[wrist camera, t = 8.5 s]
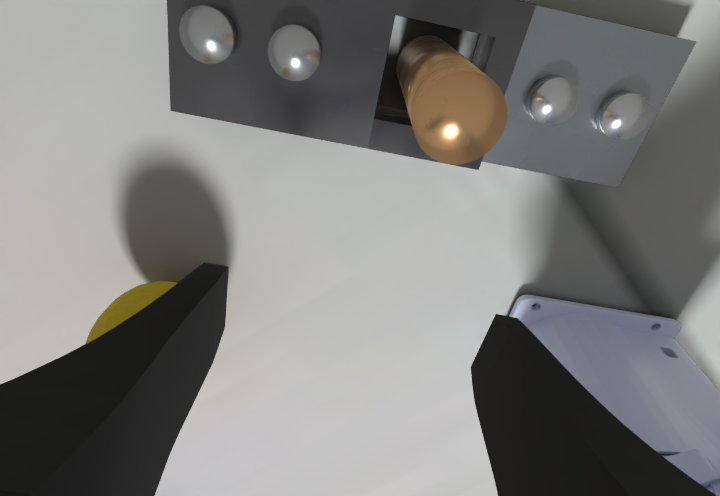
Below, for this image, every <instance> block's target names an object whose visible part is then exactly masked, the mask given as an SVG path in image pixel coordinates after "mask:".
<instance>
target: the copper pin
mask: <svg viewBox="0 0 720 496" xmlns="http://www.w3.org/2000/svg"><path fill="white" fill-rule="evenodd" d="M396 69H397V77H398V80H399V83H400V87H401V90H402V93H403V97H404V100H405V103H406V107H407V110H408V113H409V117H410V120H411V123H412V127H413V130H414V133H415V137H416V139H417V142H418V144H419V145H420V147H421V148H422V150H423V151H424V152H425V153H426V154H427V155H429V156H430V157H431V158H433V159H435V160H437V161H439V162H442V163H446V164H464V163H469V162H472V161H474V160H476V159H478V158H480V157H482V156H483V155H485V154H486V153H487V152H489V151H490V150H491V149H492V148H493V147H494V146H495V144H496V143H497V142H498V140H499V139H500V137H501V135H502V133H503V131H504V128H505V125H506V121H507V104H506V100H505V97H504V94H503V92H502V91H501V89H500V88H499V86H498V85H497V84H496V83H495V82H494V81H493V80H492V79H491V78H489V77H488V76H487V75H486V74H484V73H483V72H482V71H481V70H480V69H478V68H477V67H476V66H475V65H473V64H472V63H471V62H470V61H469V60H467V59H466V58H465V57H464V56H462V55H461V54H460V53H459V52H457V51H456V50H455V49H454V48H453V47H451V46H450V45H449V44H448V43H446V42H445V41H444V40H442V39H441V38H439V37H436V36H432V35H423V36H419V37H417V38H414V39H413V40H411V41H410V42H408V43H407V44H406V45H405V47H404V48H403V49H402V51H401V52H400V55H399V57H398V60H397V67H396Z"/></svg>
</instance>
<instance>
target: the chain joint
mask: <svg viewBox="0 0 720 496" xmlns="http://www.w3.org/2000/svg"><path fill="white" fill-rule="evenodd" d="M167 11H168V42H169V73H170V104H171V111H175V112H180V113H185V114H190V115H196V116H201V117H206V118H211V119H217V120H222V121H227V122H232V123H237V124H243V125H248V126H253V127H258V128H263V129H269V130H274V131H279V132H284V133H289V134H295V135H300V136H305V137H310V138H315V139H321V140H326V141H331V142H336V143H342V144H347V145H352V146H357V147H362V148H368V149H373V150H378V151H383V152H388V153H394V154H399V155H404V156H409V157H414V158H420V159H425V160H430V161H435V162H439V161H437V160H435V159H433V158H431V157H430V156H429V155H427V154H426V153H425V152H424V151H423V150H422V148H421V147H420V145H419V144H418V142H417V139H416V137H415V133H414V130H413V127H412V123H411V120H410V117H409V113H408V111H407V110H402V109H397V108H392V107H387V106H382V105H377V101H378V96H379V91H380V86H381V82H382V77H383V72H384V67H385V62H386V57H387V53H388V48H389V43H390V38H391V33H392V28H393V24H394V19H395V15H398V16H403V17H407V18H412V19H416V20H421V21H426V22H430V23H435V24H439V25H444V26H448V27H453V28H458V29H462V30H467V31H471V32H476V33H480V35H479V38H478V41H477V45H476V48H475V51H474V55H473V58H472V61H471V63H472V64H473V65H475V66H476V67H477V68H478V69H480V70H481V71H482V72H483V73H484V74H486V75H487V76H488V77H489V78H491V79H492V80H493V81H494V82H495V83H496V84H497V85H498V86H499V88H500V89H501V91H502V92H503V94H504V97H505V100H506V104H507V121H506V125H505V128H504V131H503V133H502V135H501V137H500V139H499V140H498V142H497V143H496V144H495V146H494V147H493V148H492V149H491V150H490V151H489V152H487V153H486V154H485V155H483V156H482V157H480V158H478V159H476V160H474V161H472V162H469V163H464V164H451V165H456V166H461V167H466V168H472V169H477V170H479V167H480V164H481V161H483V162H488V163H493V164H498V165H503V166H509V167H514V168H519V169H524V170H529V171H534V172H540V173H545V174H550V175H555V176H560V177H565V178H571V179H576V180H581V181H586V182H591V183H596V184H602V185H607V186H612V187H617V188H618V186H619V185H620V183H621V181H622V179H623V177H624V175H625V173H626V172H627V170H628V168H629V166H630V164H631V162H632V160H633V159H634V157H635V155H636V153H637V151H638V149H639V147H640V146H641V144H642V142H643V140H644V138H645V136H646V134H647V133H648V131H649V129H650V127H651V125H652V123H653V121H654V120H655V118H656V116H657V114H658V112H659V110H660V108H661V107H662V105H663V103H664V101H665V99H666V97H667V95H668V94H669V92H670V90H671V88H672V86H673V84H674V82H675V81H676V79H677V77H678V75H679V73H680V71H681V69H682V68H683V66H684V64H685V62H686V60H687V58H688V56H689V55H690V53H691V51H692V49H693V47H694V45H695V44H696V42H695V41H691V40H687V39H682V38H678V37H673V36H669V35H665V34H660V33H656V32H651V31H647V30H643V29H638V28H634V27H629V26H625V25H621V24H616V23H612V22H607V21H603V20H599V19H594V18H590V17H585V16H581V15H577V14H572V13H568V12H563V11H559V10H555V9H550V8H546V7H541V6H537V5H536V4H532V3H528V2H523V1H519V0H167ZM440 163H442V162H440Z"/></svg>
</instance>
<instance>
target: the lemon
mask: <svg viewBox="0 0 720 496" xmlns="http://www.w3.org/2000/svg"><path fill="white" fill-rule="evenodd" d="M176 284H177V283H176V282H171V281H155V282H151V283H147V284H142V285H139V286H137V287H135V288H133V289H131V290H129V291H127V292H126V293H124V294H122V295H121V296H119V297H118V298H117V299H116V300H115V301H114V302H113V303H112V304H111V305H110V306H109V307H108V308H107V309H106V310H105V311H104V312H103V313H102V314H101V316H100V317H99V318H98V319H97V321H96V322H95V324H94V326H93V328H92V329H91V332H90V334H89V336H88V339H87V341H86V344H87V343H89V342H91V341H92V340H94V339H96V338H98V337H99V336H101V335H103V334H104V333H106V332H108V331H109V330H111V329H113V328H114V327H116V326H117V325H119V324H120V323H122V322H123V321H125V320H126V319H128V318H129V317H131V316H133V315H134V314H136V313H137V312H139V311H140V310H142V309H143V308H144V307H146V306H147V305H149V304H150V303H151V302H153V301H154V300H156V299H157V298H158V297H160V296H161V295H162V294H164V293H165V292H167V291H168V290H169V289H170V288H172V287H173V286H174V285H176Z"/></svg>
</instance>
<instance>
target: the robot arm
mask: <svg viewBox="0 0 720 496" xmlns="http://www.w3.org/2000/svg"><path fill="white" fill-rule="evenodd" d="M228 268H229V267H227V266H221V265H216V264H210V263H203V264H202V265H200V266H199V267H197V268H196V269H195V270H194V271H192V272H191V273H190V274H189V275H187V276H186V277H185V278H183V279H182V280H181V281H180V282H178V283H177V284H176V285H174V286H173V287H172V288H170V289H169V290H168V291H167V292H165V293H164V294H162V295H161V296H160V297H158V298H157V299H156V300H154V301H153V302H151V303H150V304H149V305H147V306H146V307H144V308H143V309H142V310H140V311H139V312H137V313H136V314H134V315H133V316H131V317H129V318H128V319H126V320H125V321H123V322H122V323H120V324H119V325H117V326H116V327H114V328H113V329H111V330H109V331H108V332H106V333H104V334H103V335H101V336H99V337H98V338H96V339H94V340H92V341H91V342H89V343H87V344H85V345H83V346H81V347H80V348H78V349H76V350H74V351H72V352H70V353H68V354H66V355H64V356H62V357H60V358H58V359H56V360H54V361H52V362H49V363H47V364H45V365H43V366H41V367H39V368H37V369H34V370H32V371H30V372H28V373H26V374H24V375H22V376H19V377H17V378H15V379H13V380H10V381H8V382H5V383H3V384H1V385H0V496H154V495H155V492H156V490H157V487H158V484H159V482H160V479H161V476H162V473H163V471H164V468H165V465H166V462H167V460H168V457H169V454H170V452H171V450H172V448H173V445H174V443H175V441H176V438H177V436H178V434H179V432H180V430H181V428H182V426H183V424H184V421H185V419H186V417H187V415H188V413H189V411H190V409H191V407H192V405H193V403H194V401H195V399H196V397H197V394H198V392H199V390H200V388H201V386H202V384H203V382H204V380H205V378H206V376H207V373H208V371H209V369H210V367H211V365H212V363H213V361H214V358H215V355H216V352H217V349H218V346H219V343H220V340H221V337H222V334H223V331H224V328H225V317H226V301H227V284H228ZM536 303H538V304H537V305H536V306H532V305H533V304H536ZM654 324H655V325H654ZM652 325H653V326H652ZM680 330H681V325H680V323H679V322H678V321H677V320H675V319H670V318H665V317H659V316H653V315H647V314H641V313H635V312H629V311H623V310H617V309H611V308H605V307H599V306H593V305H588V304H582V303H576V302H570V301H564V300H558V299H552V298H546V297H540V296H534V295H522V296H520V297H519V298H518V299H517V301H516V303H515V305H514V307H513V309H512V311H511V313H510V315H509V316H503V315H498V314H496V315H495V317H494V320H493V322H492V324H491V326H490V328H489V330H488V332H487V334H486V336H485V338H484V341H483V343H482V345H481V347H480V349H479V351H478V353H477V355H476V357H475V360H474V362H473V364H472V366H471V373H472V384H473V392H474V399H475V405H476V409H477V413H478V417H479V421H480V425H481V429H482V433H483V437H484V441H485V444H486V448H487V452H488V456H489V460H490V464H491V467H492V471H493V475H494V479H495V483H496V487H497V492H498V496H720V392H719V391H718V390H717V389H716V388H715V386H714V385H713V384H712V383H711V382H710V380H709V379H708V378H707V377H706V376H705V375H704V373H703V372H702V371H701V370H700V369H699V368H698V366H697V365H696V364H695V363H694V362H693V360H692V359H691V358H690V357H689V356H688V355H687V353H686V352H685V351H684V350H683V349H682V348H681V346H680V345H679V344H678V343H677V342H676V340H675V339H674V338H675V337H676V336H677V334H678V333H679V332H680Z"/></svg>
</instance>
